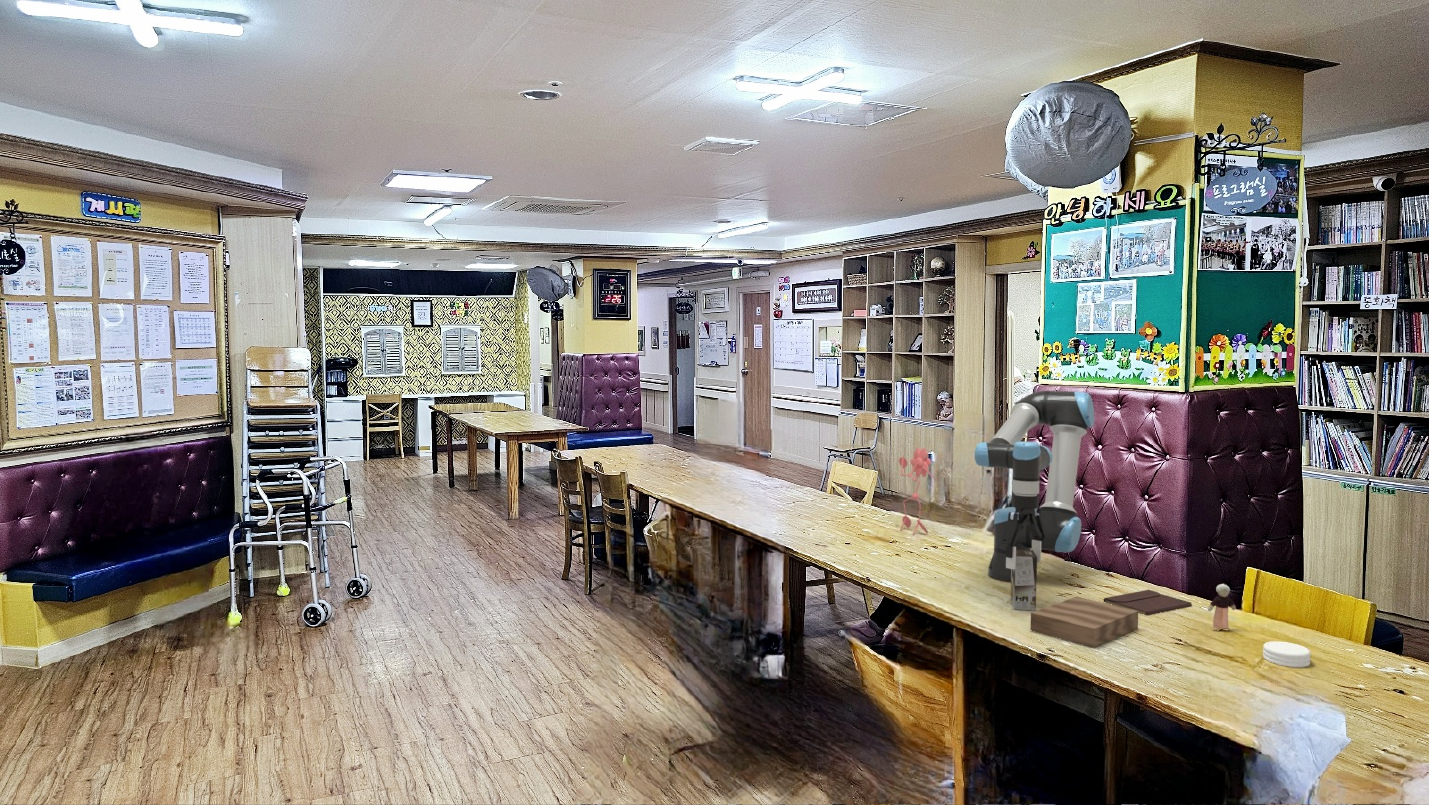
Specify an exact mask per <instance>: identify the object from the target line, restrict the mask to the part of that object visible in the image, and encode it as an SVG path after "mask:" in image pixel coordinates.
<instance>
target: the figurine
mask: <svg viewBox="0 0 1429 805" xmlns="http://www.w3.org/2000/svg"><path fill="white" fill-rule="evenodd" d="M928 456H929V451H926V448H925V447H923V448H921V449H920V447H918V446H917V447H915V450H914V451H913V458H912V459H910V460H909V461H910V465H911V466H912V470H911V472H910V473H909V474H906V473H903V472H904V471H903V469H905V468H906V467H907V466H908V464H909V463H908V460H907V458H905V456H900V457H899V459H898V462H899V465H900V466H901V473H900V475H901V476H904V477H905V476H908V477H910V478H911V479H912V480H914V481H915V482H916V483H917V485H916V486H917V487H916V490H915V493H912V494H911V497H909V498H908V499H905V500H903V502H902V504H903V509H904V516H903V517H902V519H901V520H902V524H901V526H900V529H899V531H902V530H903V527H904V526H905V527H906V528H907V529H909V528H911V526H912V521H911V519H910V517H909V516H907V512H906V506H905V502H906V501H909V500H911V499H912V500H914V501H915V500H917V502H918V504H919V512H918V513H919V515H918V519H916V522H917V523H916V525H915V528H914V531H913V533H912V535H913V536H914V535H915V534H916V531H917V528H921V529H922V531H923V532H925V533H926V534H927V535H928V534H929V532H928V530H927V527H926V526H925V525H924V524H923V523H922V522H921V506H922V505H921V501H920V499H919V494H918V489H919V485H920V481H919V480H918V479H919V478H920V476H922V477H923V478H926V476H927V473H928V474H929V476H931V477H932V478H933V480H935V482H936V481H938V480H937V479H936V478H935V477H934V475H933V474H931V472H930V468H929V466H930V465H931V464H932V461H931V459H930V458H929V457H928ZM913 472H915V476H916V477H914V476H912V475H913ZM925 527H926V528H925Z"/></svg>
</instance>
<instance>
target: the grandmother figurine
mask: <svg viewBox="0 0 1429 805" xmlns="http://www.w3.org/2000/svg"><path fill="white" fill-rule="evenodd" d="M1215 589H1216V592H1217V595H1218V596H1217V595H1216V596H1215V598H1213V599H1212V600H1211V602H1210V604H1209V606H1208V608H1207V611H1208V612H1211V611H1212V610H1213V609H1214V607H1215V611H1214V613H1213V614H1214V615H1213V620H1212V621H1213V622H1212V627H1211V629H1212V628H1213V629H1214V630H1221V629H1220V628H1222V629H1229V630H1230V628H1229V626H1230V625H1229V624H1230V623H1229V606H1230V608H1231V610H1232V611H1235V610H1236V609H1237V607H1236V605H1235V602H1234V601H1233V599H1231V598H1230V597H1228V596H1229V594H1230V591H1231V589H1230V587H1229V586H1228V585H1227V584H1225V583H1221V584H1218V585H1217V586H1216V588H1215ZM1214 630H1213V631H1214ZM1221 631H1222V630H1221Z"/></svg>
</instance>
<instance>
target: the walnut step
mask: <svg viewBox="0 0 1429 805" xmlns="http://www.w3.org/2000/svg"><path fill="white" fill-rule="evenodd" d="M1138 629H1139V613H1138V611H1137V610H1132V609H1128V608H1124V607H1119V606H1115V605H1111V604H1108V603H1104V602H1101V601H1097V600H1093V599H1088V598H1084V597H1080V596H1075V597H1072V598H1069V599H1065V600H1063V601H1060V602H1057V603H1055V604H1052V605H1049V606H1047V607H1046V606H1045V607H1043V608H1040V609H1036V610H1035V611H1032V612H1030V629H1029V630H1032V631H1031V632H1034V631H1035V632H1034V633H1037V632H1038V633H1037V634H1041V633H1042V635H1044V634H1045V636H1048V637H1052V636H1054V637H1053V638H1055V637H1057V638H1056V639H1059V638H1061V639H1060V640H1064V641H1066V640H1067V642H1070V641H1071V642H1070V643H1074V644H1077V645H1081V644H1083V645H1082V646H1085V645H1086V646H1085V647H1088V646H1090V647H1089V648H1092V647H1093V649H1094V647H1095V648H1097V647H1098V645H1099V646H1101V645H1104V644H1106V643H1108V642H1111V641H1113V640H1115V639H1117V637H1118V638H1120V637H1122V636H1124V635H1127V634H1130V633H1131V632H1134V631H1136V630H1138ZM1119 636H1120V637H1119ZM1100 644H1101V645H1100Z"/></svg>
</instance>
